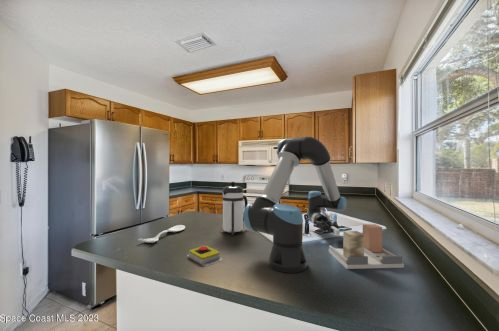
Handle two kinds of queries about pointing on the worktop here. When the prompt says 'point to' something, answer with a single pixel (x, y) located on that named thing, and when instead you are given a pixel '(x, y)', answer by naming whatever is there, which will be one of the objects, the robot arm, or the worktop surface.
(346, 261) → the base
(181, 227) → the spoon
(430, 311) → the worktop surface
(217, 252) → the emergency button
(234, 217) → the coffee press
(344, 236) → the maple slider
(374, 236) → the terracotta slider
